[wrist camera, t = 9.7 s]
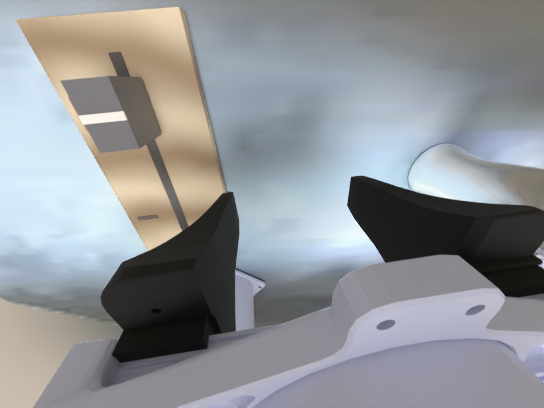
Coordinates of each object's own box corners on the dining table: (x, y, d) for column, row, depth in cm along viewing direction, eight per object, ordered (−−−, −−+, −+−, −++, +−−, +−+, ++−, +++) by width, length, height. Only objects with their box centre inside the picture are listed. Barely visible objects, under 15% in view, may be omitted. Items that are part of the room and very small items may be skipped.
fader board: (235, 230, 25) (234, 239, 23) (153, 242, 24) (147, 251, 23) (184, 13, 14) (178, 6, 13) (36, 25, 14) (13, 19, 12)
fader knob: (161, 134, 16) (139, 148, 13) (129, 138, 16) (99, 153, 13) (140, 76, 14) (107, 75, 11) (103, 80, 14) (58, 80, 11)
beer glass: (442, 126, 21) (754, 197, 8) (475, 158, 23) (751, 252, 11) (391, 179, 24) (563, 296, 11) (425, 203, 26) (597, 321, 13)
